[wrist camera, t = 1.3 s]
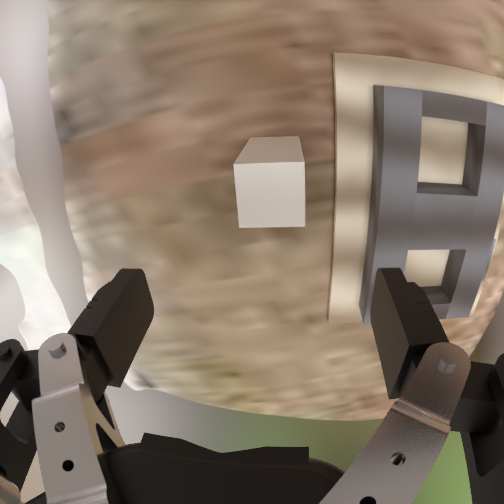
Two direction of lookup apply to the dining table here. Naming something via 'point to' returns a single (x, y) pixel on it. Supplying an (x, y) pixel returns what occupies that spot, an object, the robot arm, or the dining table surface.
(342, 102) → the socket board
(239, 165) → the white rectangular block
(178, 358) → the dining table surface
